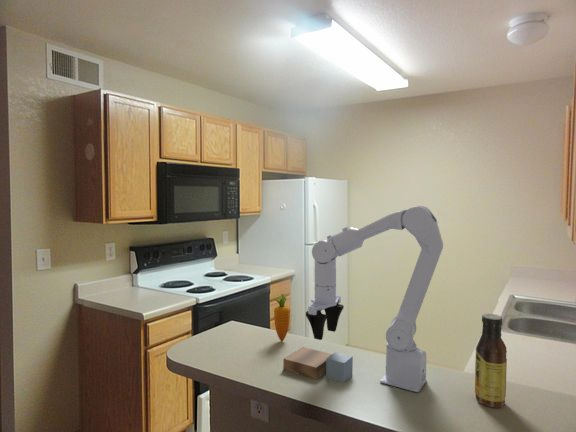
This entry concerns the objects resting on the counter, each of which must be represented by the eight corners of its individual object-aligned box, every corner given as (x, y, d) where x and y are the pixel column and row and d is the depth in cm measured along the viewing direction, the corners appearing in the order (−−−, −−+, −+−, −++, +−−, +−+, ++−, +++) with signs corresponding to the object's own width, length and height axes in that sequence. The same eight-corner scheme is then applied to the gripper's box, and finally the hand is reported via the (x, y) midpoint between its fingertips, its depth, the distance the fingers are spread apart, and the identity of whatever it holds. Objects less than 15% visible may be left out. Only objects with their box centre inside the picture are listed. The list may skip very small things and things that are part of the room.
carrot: (283, 345, 124) (283, 297, 123) (270, 341, 127) (271, 295, 126) (292, 340, 128) (293, 294, 127) (280, 337, 131) (280, 292, 130)
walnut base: (334, 365, 110) (334, 354, 110) (316, 379, 101) (316, 367, 101) (302, 357, 115) (302, 346, 115) (283, 369, 107) (283, 358, 107)
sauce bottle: (478, 392, 95) (481, 309, 94) (508, 401, 91) (511, 314, 90) (470, 403, 90) (473, 316, 89) (501, 413, 86) (504, 321, 85)
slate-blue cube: (352, 375, 104) (352, 356, 104) (344, 382, 100) (344, 362, 100) (335, 370, 107) (335, 352, 107) (326, 377, 103) (326, 358, 102)
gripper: (325, 278, 116) (324, 325, 116) (298, 288, 104) (298, 339, 104) (347, 281, 112) (347, 329, 112) (322, 291, 100) (322, 345, 100)
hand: (325, 334), depth 108 cm, fingers open, 7 cm apart
